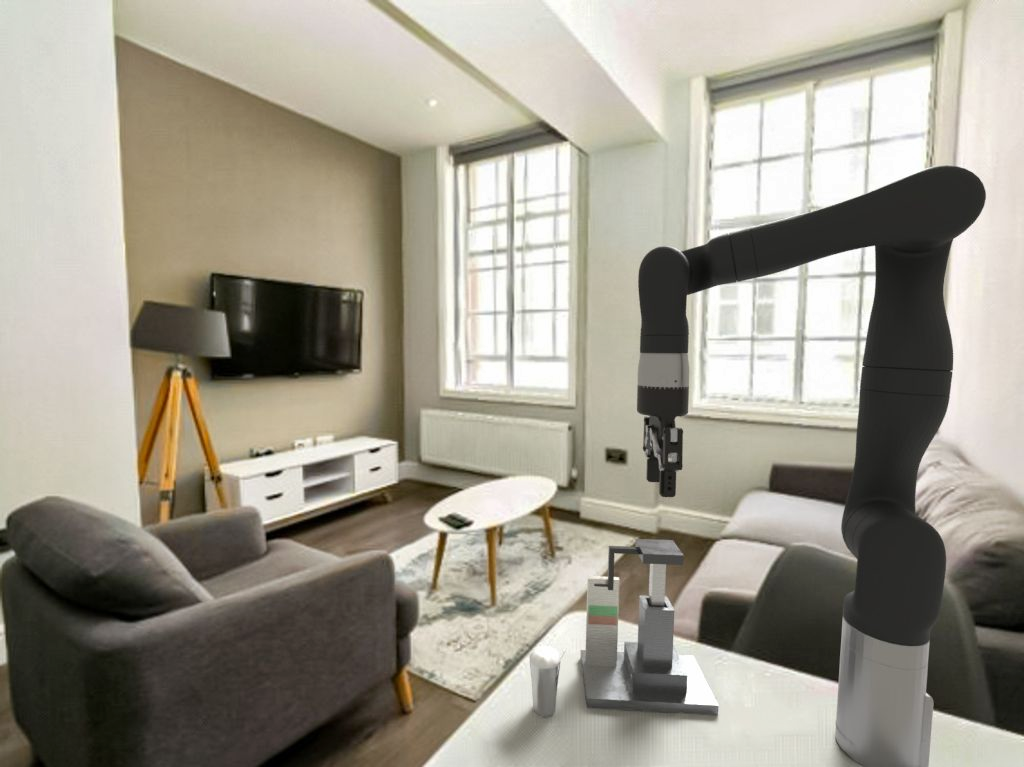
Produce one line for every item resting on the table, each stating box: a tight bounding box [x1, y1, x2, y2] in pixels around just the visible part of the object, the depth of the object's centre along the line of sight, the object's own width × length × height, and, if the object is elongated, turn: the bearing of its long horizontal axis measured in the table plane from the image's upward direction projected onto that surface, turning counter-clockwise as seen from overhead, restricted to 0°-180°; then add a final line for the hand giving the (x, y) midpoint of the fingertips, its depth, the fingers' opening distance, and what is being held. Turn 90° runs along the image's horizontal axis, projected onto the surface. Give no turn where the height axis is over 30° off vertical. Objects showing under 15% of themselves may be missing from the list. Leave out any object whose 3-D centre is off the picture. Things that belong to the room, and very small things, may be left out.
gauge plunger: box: [607, 538, 685, 607], centre depth 79 cm, size 10×6×12 cm, turn 87°
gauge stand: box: [580, 575, 719, 716], centre depth 79 cm, size 19×12×16 cm, turn 87°
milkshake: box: [529, 645, 567, 719], centre depth 73 cm, size 4×5×10 cm
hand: (660, 488), depth 77 cm, fingers open, 8 cm apart
